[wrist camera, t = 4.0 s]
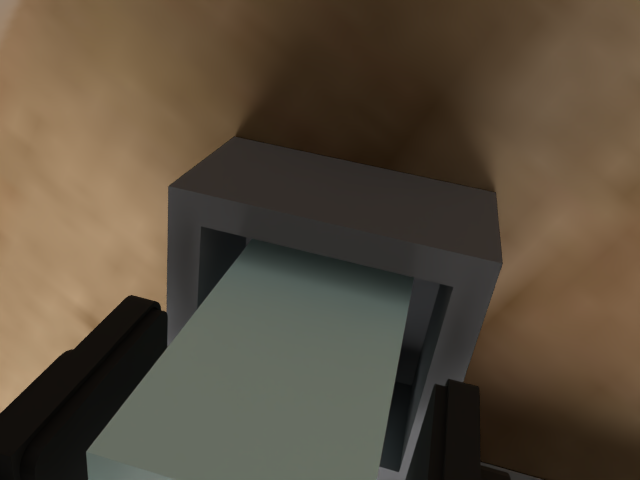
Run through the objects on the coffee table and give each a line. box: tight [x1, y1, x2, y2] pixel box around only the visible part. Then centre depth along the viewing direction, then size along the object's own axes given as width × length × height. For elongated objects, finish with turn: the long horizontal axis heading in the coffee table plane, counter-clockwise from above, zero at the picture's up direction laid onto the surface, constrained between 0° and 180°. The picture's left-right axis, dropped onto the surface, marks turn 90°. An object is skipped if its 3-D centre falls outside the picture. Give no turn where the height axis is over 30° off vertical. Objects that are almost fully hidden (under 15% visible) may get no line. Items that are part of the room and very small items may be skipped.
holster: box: [167, 137, 503, 480], centre depth 14 cm, size 6×6×4 cm
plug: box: [86, 239, 414, 480], centre depth 11 cm, size 4×4×10 cm
